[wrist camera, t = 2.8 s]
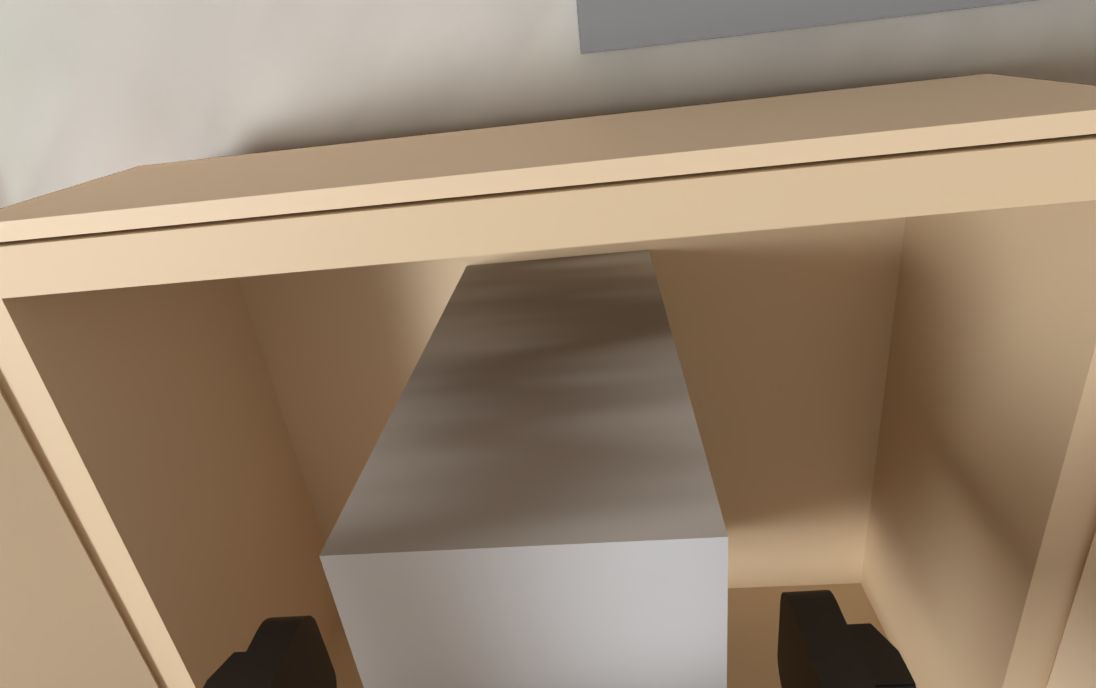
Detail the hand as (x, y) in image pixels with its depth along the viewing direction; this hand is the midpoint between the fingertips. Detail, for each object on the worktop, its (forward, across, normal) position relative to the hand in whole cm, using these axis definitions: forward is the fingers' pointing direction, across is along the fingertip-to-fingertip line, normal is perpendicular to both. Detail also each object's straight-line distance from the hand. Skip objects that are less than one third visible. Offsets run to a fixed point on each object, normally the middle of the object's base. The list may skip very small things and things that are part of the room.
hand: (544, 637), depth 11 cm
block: (+8, 0, 0) cm, 8 cm away
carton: (+8, 0, 0) cm, 8 cm away
